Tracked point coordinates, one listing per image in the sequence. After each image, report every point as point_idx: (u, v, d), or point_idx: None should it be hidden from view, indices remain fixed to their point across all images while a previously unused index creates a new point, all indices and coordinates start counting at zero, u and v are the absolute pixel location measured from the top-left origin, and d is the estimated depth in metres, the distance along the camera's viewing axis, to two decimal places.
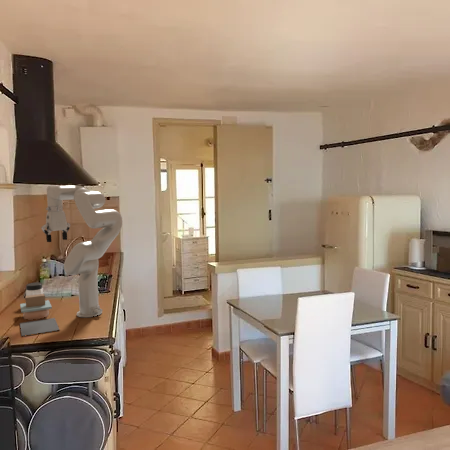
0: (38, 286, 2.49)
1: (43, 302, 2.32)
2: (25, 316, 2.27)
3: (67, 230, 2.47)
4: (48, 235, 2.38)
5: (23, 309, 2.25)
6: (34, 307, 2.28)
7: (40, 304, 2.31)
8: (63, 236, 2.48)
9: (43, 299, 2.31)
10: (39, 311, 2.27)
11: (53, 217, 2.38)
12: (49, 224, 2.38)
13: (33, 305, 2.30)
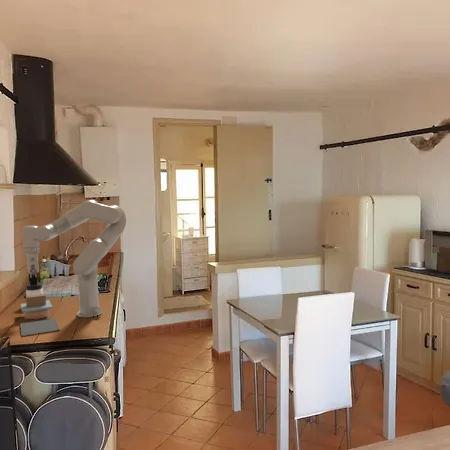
0: (38, 286, 2.49)
1: (44, 302, 2.32)
2: (26, 316, 2.28)
3: None
4: (35, 278, 2.26)
5: (24, 309, 2.25)
6: (35, 307, 2.28)
7: (41, 304, 2.31)
8: None
9: (44, 299, 2.32)
10: (40, 311, 2.28)
11: None
12: (36, 266, 2.26)
13: (34, 305, 2.30)
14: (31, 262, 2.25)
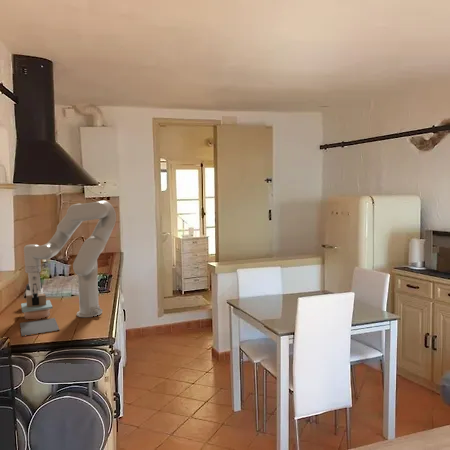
0: None
1: (44, 302, 2.32)
2: (26, 316, 2.28)
3: None
4: (37, 298, 2.29)
5: (24, 309, 2.25)
6: (35, 307, 2.28)
7: (41, 304, 2.31)
8: None
9: (44, 299, 2.32)
10: (40, 311, 2.28)
11: (39, 277, 2.28)
12: (38, 288, 2.27)
13: (34, 305, 2.30)
14: (33, 281, 2.26)
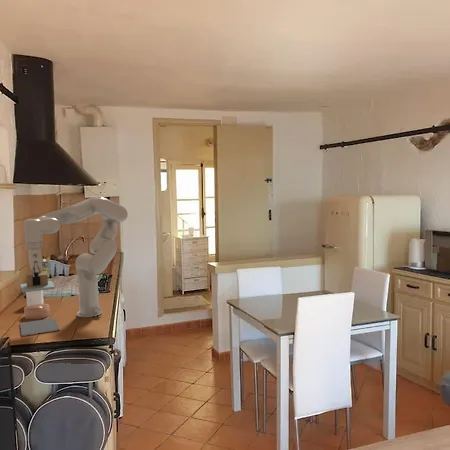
0: None
1: (45, 282, 2.12)
2: (26, 316, 2.28)
3: None
4: (38, 277, 2.10)
5: (24, 289, 2.06)
6: (36, 287, 2.09)
7: (42, 284, 2.12)
8: None
9: (45, 278, 2.12)
10: (40, 311, 2.28)
11: None
12: (39, 266, 2.08)
13: (35, 285, 2.10)
14: (34, 258, 2.06)
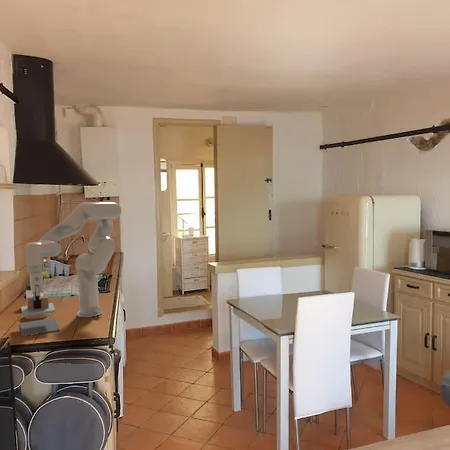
0: None
1: (46, 305, 2.13)
2: (26, 316, 2.28)
3: None
4: (39, 300, 2.11)
5: (24, 312, 2.06)
6: (36, 310, 2.09)
7: (43, 307, 2.13)
8: None
9: (46, 302, 2.13)
10: None
11: (42, 278, 2.10)
12: (40, 290, 2.09)
13: None
14: (35, 282, 2.07)
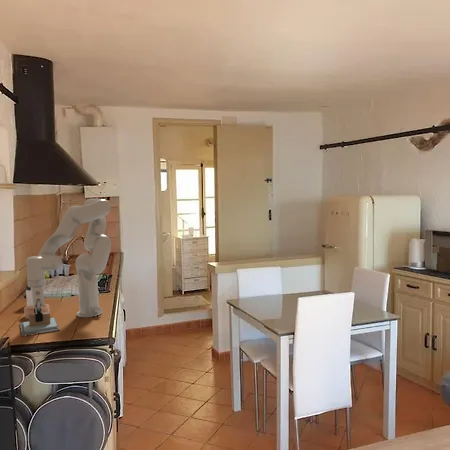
0: None
1: (48, 321, 2.14)
2: (26, 316, 2.28)
3: None
4: (40, 314, 2.10)
5: (26, 329, 2.08)
6: (38, 326, 2.11)
7: (45, 323, 2.14)
8: None
9: (48, 317, 2.14)
10: None
11: (43, 292, 2.11)
12: (41, 301, 2.09)
13: (37, 324, 2.12)
14: (36, 296, 2.08)
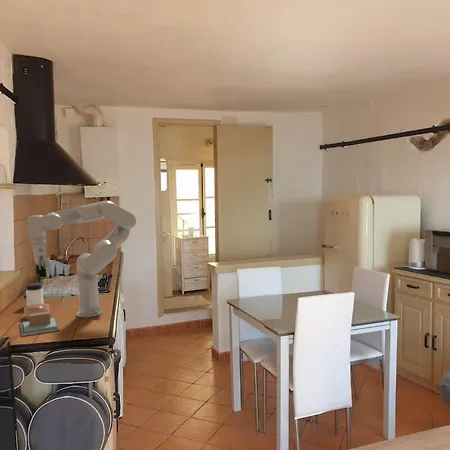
0: (38, 286, 2.49)
1: (48, 321, 2.14)
2: (26, 316, 2.28)
3: None
4: None
5: (26, 329, 2.08)
6: (38, 326, 2.11)
7: (45, 323, 2.14)
8: (38, 270, 2.25)
9: (48, 317, 2.14)
10: (40, 311, 2.28)
11: (45, 249, 2.18)
12: (44, 257, 2.17)
13: (37, 324, 2.12)
14: (39, 253, 2.15)
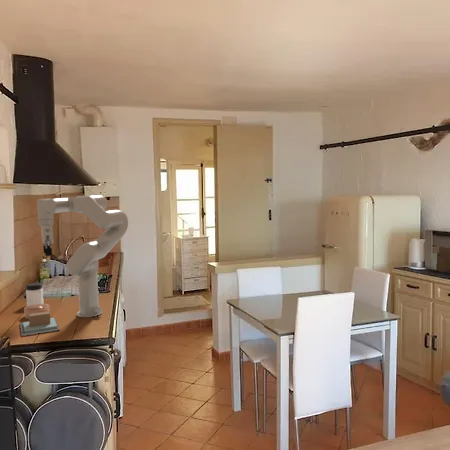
0: (38, 286, 2.49)
1: (48, 321, 2.14)
2: (26, 316, 2.28)
3: None
4: (50, 248, 2.35)
5: (26, 329, 2.08)
6: (38, 326, 2.11)
7: (45, 323, 2.14)
8: None
9: (48, 317, 2.14)
10: (40, 311, 2.28)
11: None
12: (50, 237, 2.35)
13: (37, 324, 2.12)
14: (46, 233, 2.34)
